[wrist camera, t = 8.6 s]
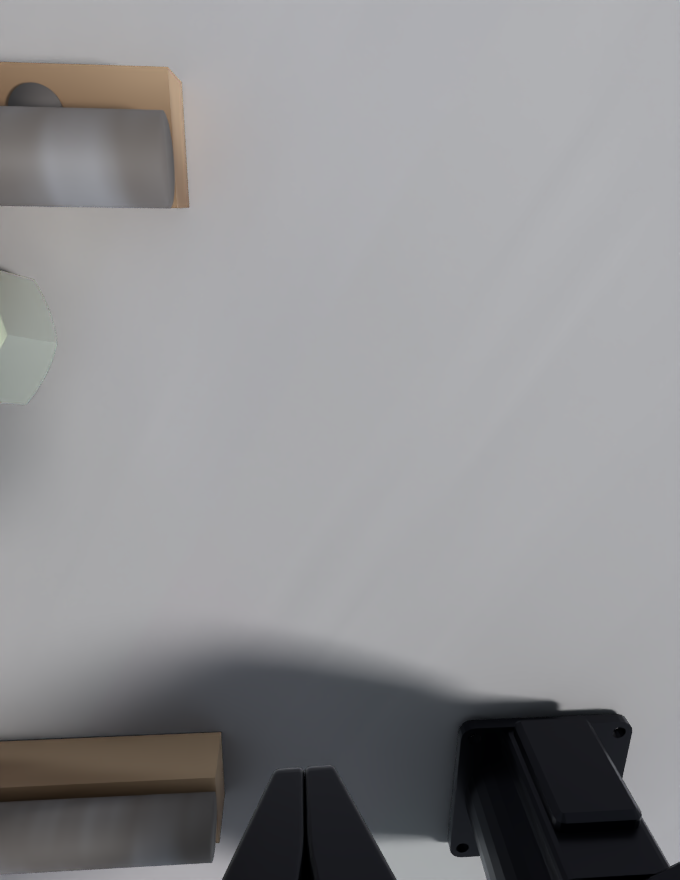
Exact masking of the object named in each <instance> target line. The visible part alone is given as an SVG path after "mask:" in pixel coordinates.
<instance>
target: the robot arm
mask: <svg viewBox="0 0 680 880" xmlns="http://www.w3.org/2000/svg"><path fill="white" fill-rule="evenodd" d="M616 728H617V729H616ZM471 734H476V735H474V736H470V735H471ZM631 734H632V727H631V726H630V724H629V723H628V721H627V720H626V718H625V717H624V716H622V715H619V714H607V715H583V716H559V717H536V718H512V719H489V720H471V721H467V722H465V723H463V724H462V725H461V726H460V728H459V731H458V739H457V749H456V760H455V770H454V780H453V791H452V801H451V811H450V822H449V832H448V843H449V847H450V851H451V853H452V854H453V855H454V856H456V857H472V856H480V858H481V861H482V864H483V868H484V871H485V875H486V878H487V880H680V862H678V863H676V864H674V865H672V866H670V865H669V863H668V862H667V860H666V858H665V856H664V855H663V853H662V851H661V849H660V848H659V846H658V844H657V843H656V841H655V839H654V837H653V836H652V834H651V832H650V830H649V829H648V827H647V825H646V823H645V822H644V820H643V818H642V814H641V811H640V809H639V807H638V805H637V804H636V802H635V800H634V798H633V797H632V795H631V793H630V792H629V790H628V788H627V786H626V785H625V783H624V781H623V779H622V777H623V772H624V767H625V763H626V758H627V753H628V749H629V744H630V739H631ZM222 880H396V878H395V876H394V874H393V872H392V871H391V869H390V867H389V865H388V863H387V862H386V860H385V858H384V856H383V854H382V852H381V851H380V849H379V847H378V845H377V843H376V842H375V840H374V838H373V836H372V834H371V832H370V831H369V829H368V827H367V825H366V823H365V821H364V820H363V818H362V816H361V814H360V812H359V811H358V809H357V807H356V805H355V803H354V801H353V800H352V798H351V796H350V794H349V792H348V791H347V789H346V787H345V785H344V783H343V781H342V780H341V778H340V776H339V774H338V772H337V771H336V769H335V768H334V767H333V766H331V765H323V766H310V767H307V768H306V770H305V776H304V770H303V769H302V768H300V767H295V768H281V769H277V770H275V771H274V773H273V774H272V776H271V778H270V780H269V782H268V784H267V787H266V789H265V791H264V793H263V795H262V797H261V799H260V801H259V803H258V805H257V808H256V810H255V812H254V814H253V816H252V818H251V820H250V822H249V824H248V826H247V828H246V831H245V833H244V835H243V837H242V839H241V841H240V843H239V845H238V847H237V849H236V851H235V854H234V856H233V858H232V860H231V862H230V864H229V866H228V868H227V870H226V872H225V874H224V877H223V879H222Z"/></svg>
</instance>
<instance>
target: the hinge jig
mask: <svg viewBox="0 0 680 880" xmlns="http://www.w3.org/2000/svg"><path fill="white" fill-rule="evenodd" d="M0 206H44V207H112V208H189V196H188V179H187V163H186V146H185V130H184V113H183V97H182V82H181V81H180V80H179V79H178V78H177V77H176V76H175V74H174V73H173V72H172V71H171V70H170V69H169V68H168V67H151V66H118V65H85V64H51V63H18V62H0ZM224 797H225V790H224V773H223V757H222V740H221V732H212V733H189V734H165V735H142V736H118V737H95V738H71V739H48V740H24V741H1V742H0V875H4V874H21V873H39V872H56V871H74V870H92V869H109V868H127V867H144V866H162V865H180V864H197V863H212V861H213V857H214V851H215V843H219V842H220V833H221V824H222V815H223V806H224Z"/></svg>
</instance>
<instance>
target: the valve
mask: <svg viewBox="0 0 680 880" xmlns="http://www.w3.org/2000/svg"><path fill="white" fill-rule="evenodd" d="M56 347H57V337H56V332H55V327H54V323H53V320H52V317H51V313H50V311H49V308H48V306H47V304H46V302H45V299H44V297H43V295H42V293H41V291H40V289H39V287H38V286H37V284H36V282H35V280H34V279H30V278H27V277H23V276H19V275H16V274H12V273H9V272H5V271H1V270H0V403H2V404H19V405H27V404H28V402H29V401H30V400H31V398H32V397H33V396H34V394H35V393H36V391H37V390H38V388H39V387H40V385H41V383H42V382H43V380H44V378H45V376H46V374H47V372H48V370H49V368H50V365H51V363H52V360H53V357H54V354H55V351H56Z"/></svg>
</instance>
